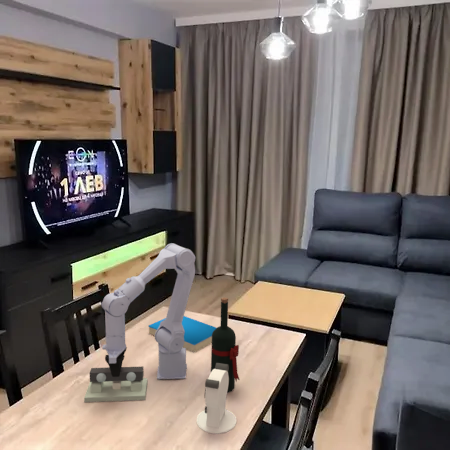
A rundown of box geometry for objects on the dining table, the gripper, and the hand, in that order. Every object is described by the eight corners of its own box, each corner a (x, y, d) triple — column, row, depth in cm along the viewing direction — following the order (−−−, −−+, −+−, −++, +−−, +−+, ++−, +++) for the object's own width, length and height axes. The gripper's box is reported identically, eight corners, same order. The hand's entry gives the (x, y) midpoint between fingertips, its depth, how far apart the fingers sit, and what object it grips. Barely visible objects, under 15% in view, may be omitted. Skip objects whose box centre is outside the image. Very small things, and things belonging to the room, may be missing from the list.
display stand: (147, 382, 146) (147, 370, 145) (145, 400, 136) (144, 388, 135) (90, 383, 144) (90, 372, 143) (84, 402, 134) (83, 390, 133)
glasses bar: (143, 375, 141) (143, 366, 141) (142, 381, 138) (142, 372, 137) (91, 376, 140) (91, 367, 139) (89, 383, 136) (89, 374, 136)
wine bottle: (229, 399, 137) (232, 307, 131) (205, 387, 144) (206, 298, 137) (245, 388, 143) (248, 300, 137) (221, 377, 149) (223, 292, 143)
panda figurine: (204, 404, 134) (205, 358, 131) (241, 411, 132) (242, 364, 128) (190, 429, 123) (191, 379, 120) (230, 437, 120) (231, 387, 117)
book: (195, 344, 165) (147, 324, 179) (194, 355, 166) (147, 334, 180) (223, 328, 178) (177, 311, 193) (222, 338, 179) (177, 321, 194)
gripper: (105, 322, 142) (107, 361, 145) (97, 343, 128) (99, 386, 131) (128, 322, 143) (129, 361, 146) (122, 343, 129) (123, 385, 132)
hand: (116, 373), depth 139 cm, fingers closed on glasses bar, 3 cm apart
